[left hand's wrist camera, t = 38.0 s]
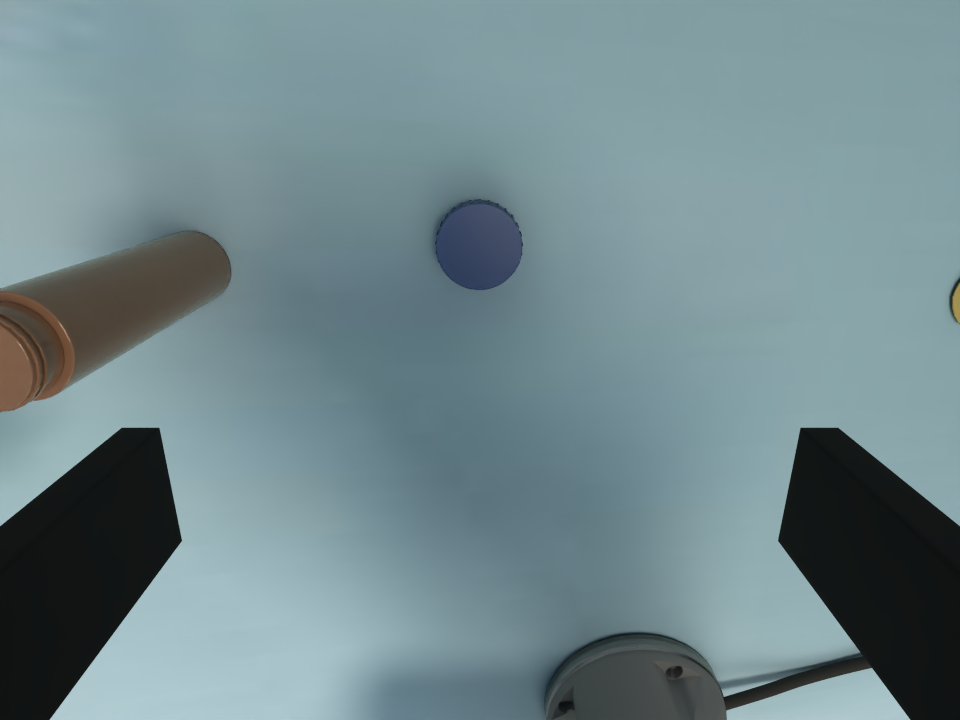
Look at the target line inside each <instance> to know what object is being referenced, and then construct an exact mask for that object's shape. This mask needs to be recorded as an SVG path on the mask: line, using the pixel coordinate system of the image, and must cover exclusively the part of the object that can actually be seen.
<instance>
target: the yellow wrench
mask: <svg viewBox="0 0 960 720" xmlns="http://www.w3.org/2000/svg"><path fill="white" fill-rule="evenodd" d="M952 310H953V314H954V316H955V318H956V320H957V321H958V323H959V324H960V282H959V284H958V285H957V287H956V289H955V291H954V294H953V296H952Z"/></svg>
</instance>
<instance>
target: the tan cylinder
mask: <svg viewBox="0 0 960 720" xmlns="http://www.w3.org/2000/svg"><path fill="white" fill-rule="evenodd" d="M230 276H231V269H230V263H229V260H228V257H227V255H226V253H225V251H224V250H223V248H222V247H221V246H220V245H219V244H218V243H217V242H216V241H215V240H213V239H212V238H211V237H209V236H207V235H205V234H203V233H199V232H195V231H183V232H178V233H175V234H172V235H169V236H166V237H163V238H159V239H156V240H153V241H150V242H147V243H143V244H140V245H137V246H134V247H131V248H128V249H124V250H121V251H118V252H115V253H112V254H108V255H105V256H102V257H99V258H96V259H92V260H89V261H86V262H83V263H80V264H77V265H73V266H70V267H67V268H64V269H61V270H57V271H54V272H51V273H48V274H45V275H41V276H38V277H35V278H32V279H29V280H26V281H22V282H19V283H16V284H13V285H10V286H6V287H3V288H0V412H4V411H11V410H15V409H17V408H20V407H22V406H24V405H26V404H27V403H29V402H31V401H37V400H43V399H47V398H50V397H53V396H54V395H56V394H58V393H60V392H61V391H63V390H65V389H66V388H68V387H70V386H71V385H73V384H75V383H76V382H78V381H80V380H81V379H83V378H85V377H86V376H88V375H90V374H91V373H93V372H94V371H96V370H98V369H99V368H101V367H103V366H104V365H106V364H108V363H109V362H111V361H113V360H114V359H116V358H118V357H119V356H121V355H123V354H124V353H126V352H127V351H129V350H131V349H132V348H134V347H136V346H137V345H139V344H141V343H142V342H144V341H146V340H147V339H149V338H151V337H152V336H154V335H156V334H157V333H159V332H160V331H162V330H164V329H165V328H167V327H169V326H170V325H172V324H174V323H175V322H177V321H179V320H180V319H182V318H184V317H185V316H187V315H189V314H190V313H192V312H193V311H195V310H197V309H198V308H200V307H202V306H203V305H205V304H207V303H208V302H210V301H212V300H213V299H215V298H217V297H218V296H219V295H221V294H222V293H223V292H224V291H225V289H226V288H227V286H228V284H229V281H230Z"/></svg>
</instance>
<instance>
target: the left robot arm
mask: <svg viewBox="0 0 960 720" xmlns="http://www.w3.org/2000/svg"><path fill="white" fill-rule="evenodd" d="M181 541H182V539H181V534H180V529H179V524H178V519H177V514H176V509H175V504H174V499H173V494H172V489H171V484H170V479H169V474H168V469H167V464H166V459H165V454H164V449H163V444H162V439H161V434H160V429H159V428H121V429H120V430H119V431H117V432H116V433H115V434H114V435H112V436H111V437H110V438H109V439H108V440H106V441H105V442H104V443H103V444H101V445H100V446H99V447H98V448H96V449H95V450H94V451H93V452H91V453H90V454H89V455H88V456H87V457H85V458H84V459H83V460H82V461H80V462H79V463H78V464H77V465H75V466H74V467H73V468H72V469H70V470H69V471H68V472H67V473H66V474H64V475H63V476H62V477H61V478H59V479H58V480H57V481H56V482H54V483H53V484H52V485H51V486H49V487H48V488H47V489H46V490H45V491H43V492H42V493H41V494H40V495H38V496H37V497H36V498H35V499H33V500H32V501H31V502H30V503H28V504H27V505H26V506H25V507H24V508H22V509H21V510H20V511H19V512H17V513H16V514H15V515H14V516H12V517H11V518H10V519H9V520H7V521H6V522H5V523H4V524H3V525H1V526H0V720H50V718H51V717H52V716H53V714H54V713H55V712H56V710H57V709H58V707H59V706H60V705H61V703H62V702H63V701H64V699H65V698H66V697H67V695H68V694H69V693H70V691H71V690H72V689H73V687H74V686H75V685H76V683H77V682H78V680H79V679H80V678H81V676H82V675H83V674H84V672H85V671H86V670H87V668H88V667H89V666H90V664H91V663H92V662H93V660H94V659H95V657H96V656H97V655H98V653H99V652H100V651H101V649H102V648H103V647H104V645H105V644H106V643H107V641H108V640H109V639H110V637H111V636H112V635H113V633H114V632H115V630H116V629H117V628H118V626H119V625H120V624H121V622H122V621H123V620H124V618H125V617H126V616H127V614H128V613H129V612H130V610H131V609H132V607H133V606H134V605H135V603H136V602H137V601H138V599H139V598H140V597H141V595H142V594H143V593H144V591H145V590H146V589H147V587H148V586H149V585H150V583H151V582H152V580H153V579H154V578H155V576H156V575H157V574H158V572H159V571H160V570H161V568H162V567H163V566H164V564H165V563H166V562H167V560H168V559H169V557H170V556H171V555H172V553H173V552H174V551H175V549H176V548H177V547H178V545H179V544H180V543H181ZM778 541H779V543H780V544H781V545H782V547H783V548H784V549H785V551H786V552H787V553H788V555H789V556H790V557H791V559H792V560H793V562H794V563H795V564H796V566H797V567H798V568H799V570H800V571H801V572H802V574H803V575H804V576H805V578H806V579H807V580H808V582H809V583H810V585H811V586H812V587H813V589H814V590H815V591H816V593H817V594H818V595H819V597H820V598H821V599H822V601H823V602H824V603H825V605H826V606H827V607H828V609H829V610H830V612H831V613H832V614H833V616H834V617H835V618H836V620H837V621H838V622H839V624H840V625H841V626H842V628H843V629H844V630H845V632H846V633H847V635H848V636H849V637H850V639H851V640H852V641H853V643H854V644H855V645H856V647H857V648H858V649H859V651H860V652H861V653H862V655H863V656H862V657H858V658H854V659H849V660H845V661H841V662H837V663H833V664H830V665H826V666H822V667H819V668H815V669H811V670H808V671H804V672H801V673H798V674H794V675H791V676H788V677H785V678H783V679H780V680H777V681H774V682H771V683H768V684H765V685H762V686H759V687H756V688H752V689H749V690H746V691H743V692H739V693H736V694H733V695H729V696H726V697H724V696H723V693H722V690H721V688H720V686H719V684H718V681H717V679H716V677H715V675H714V673H713V670H712V669H711V667H710V666H709V664H708V663H707V662H706V661H705V659H704V658H703V657H702V656H700V655H699V654H698V653H697V652H696V651H694V650H693V649H691V648H690V647H688V646H686V645H684V644H682V643H680V642H678V641H675V640H672V639H669V638H665V637H660V636H655V635H642V634H635V635H623V636H617V637H612V638H608V639H605V640H602V641H599V642H596V643H594V644H592V645H589V646H587V647H585V648H584V649H582V650H580V651H578V652H577V653H576V654H574V655H573V656H571V657H570V658H569V659H568V660H567V661H565V663H564V664H563V665H562V666H561V667H560V668H559V669H558V670H557V672H556V673H555V674H554V676H553V678H552V679H551V681H550V683H549V686H548V689H547V692H546V696H545V714H546V720H727V717H726V710H729V709H732V708H736V707H739V706H742V705H746V704H749V703H752V702H755V701H759V700H762V699H765V698H768V697H771V696H774V695H777V694H780V693H783V692H786V691H789V690H792V689H794V688H797V687H800V686H804V685H807V684H810V683H814V682H817V681H821V680H825V679H828V678H832V677H836V676H840V675H843V674H847V673H852V672H856V671H860V670H864V669H869V668H873V670H874V671H875V672H876V674H877V675H878V676H879V678H880V679H881V680H882V682H883V683H884V685H885V686H886V687H887V689H888V690H889V691H890V693H891V694H892V695H893V697H894V698H895V699H896V701H897V702H898V703H899V705H900V706H901V707H902V709H903V710H904V712H905V713H906V714H907V716H908V717H909V718H910V720H960V526H959V525H957V524H956V523H955V522H954V521H953V520H951V519H950V518H949V517H948V516H946V515H945V514H944V513H943V512H941V511H940V510H939V509H938V508H936V507H935V506H934V505H933V504H932V503H930V502H929V501H928V500H927V499H925V498H924V497H923V496H922V495H920V494H919V493H918V492H917V491H915V490H914V489H913V488H912V487H911V486H909V485H908V484H907V483H906V482H904V481H903V480H902V479H901V478H899V477H898V476H897V475H896V474H894V473H893V472H892V471H891V470H890V469H888V468H887V467H886V466H885V465H883V464H882V463H881V462H880V461H878V460H877V459H876V458H875V457H873V456H872V455H871V454H870V453H869V452H867V451H866V450H865V449H864V448H862V447H861V446H860V445H859V444H857V443H856V442H855V441H854V440H852V439H851V438H850V437H849V436H848V435H846V434H845V433H844V432H843V431H841V430H840V429H839V428H801V429H800V434H799V439H798V444H797V449H796V454H795V459H794V464H793V469H792V474H791V479H790V484H789V489H788V494H787V499H786V504H785V509H784V514H783V519H782V524H781V529H780V534H779V539H778Z"/></svg>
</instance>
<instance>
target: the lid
mask: <svg viewBox="0 0 960 720" xmlns="http://www.w3.org/2000/svg"><path fill="white" fill-rule="evenodd" d="M440 226H441V228H440V230H438V232H437V235H438V236H437V240H436V243H435V244H436V254H437V257H438V262H439V263H440V265H441V267H442V269H443V271H444V272H445V273H446V275H447V276H448V277H449V278H450V279H451V280H453V281H454V282H455V283H457V284H459V285H460V286H463V287H465V288H469V289H474V290H484V289H490V288H493V287H496V286H498V285H500V284H502V283H503V282H505V281H506V280H507V279H508V278H509V277H510V276H511V275H512V274H513V273H514V272H515V270H516V268H517V266H518V264H519V262H520V259H521V255H522V246H523V243H522V239H521V236H522V234H521V232H520V231H519V229H518V228H519V226H518V224H517V223H515V221H514V217H513V215H510V214H509V213H508V212H507V209H506V208H505V209H504V208H502V207H501V206H499V204H498V203H497V204H495V203H492V202H490V200H488V201H483V200H481V199H479V200H475V201H472V200H470V202H466V203H464V204H463V203H461V205H459V206H458V207H456V208H455V207H454V208H453V210H452V211H451V212H450V213H449V214H447V215H446V217H445V220H444V222H443V221H442V223H441V225H440Z"/></svg>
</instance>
